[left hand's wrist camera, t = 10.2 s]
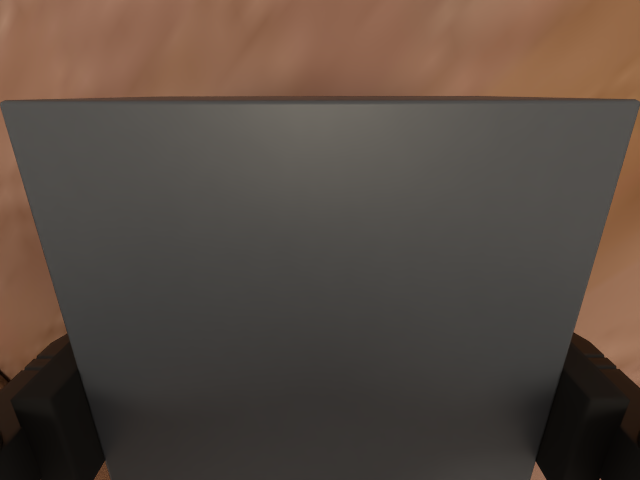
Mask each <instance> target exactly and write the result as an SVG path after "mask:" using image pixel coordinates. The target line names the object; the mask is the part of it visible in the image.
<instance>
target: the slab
mask: <svg viewBox="0 0 640 480" xmlns="http://www.w3.org/2000/svg"><path fill="white" fill-rule="evenodd" d="M639 106H640V102H639V101H637V100H635V99H592V98H543V97H495V96H275V97H126V98H84V99H42V100H5V101H3V102H1V103H0V107H1V110H2V113H3V117H4V120H5V124H6V127H7V130H8V134H9V137H10V140H11V144H12V147H13V151H14V154H15V157H16V161H17V164H18V168H19V171H20V174H21V178H22V181H23V184H24V188H25V191H26V195H27V198H28V201H29V205H30V208H31V211H32V215H33V218H34V222H35V225H36V228H37V232H38V235H39V238H40V242H41V245H42V249H43V252H44V255H45V259H46V262H47V266H48V269H49V272H50V276H51V279H52V282H53V286H54V289H55V293H56V296H57V299H58V303H59V306H60V309H61V313H62V316H63V320H64V323H65V326H66V330H67V333H68V336H69V340H70V343H71V347H72V350H73V353H74V357H75V360H76V364H77V367H78V370H79V374H80V377H81V380H82V384H83V387H84V391H85V394H86V397H87V401H88V404H89V407H90V411H91V414H92V418H93V421H94V424H95V428H96V431H97V434H98V438H99V441H100V445H101V448H102V451H103V455H104V458H105V462H106V465H107V468H108V472H109V475H110V478H111V480H530V478H531V475H532V472H533V468H534V465H535V461H536V458H537V454H538V451H539V448H540V444H541V441H542V437H543V434H544V431H545V427H546V424H547V420H548V417H549V414H550V410H551V407H552V403H553V400H554V396H555V393H556V390H557V386H558V383H559V379H560V376H561V373H562V369H563V366H564V362H565V359H566V356H567V352H568V349H569V345H570V342H571V338H572V335H573V332H574V328H575V325H576V321H577V318H578V315H579V311H580V308H581V304H582V301H583V297H584V294H585V291H586V287H587V284H588V280H589V277H590V274H591V270H592V267H593V263H594V260H595V257H596V253H597V250H598V246H599V243H600V239H601V236H602V233H603V229H604V226H605V222H606V219H607V216H608V212H609V209H610V205H611V202H612V199H613V195H614V192H615V188H616V185H617V181H618V178H619V175H620V171H621V168H622V164H623V161H624V158H625V154H626V151H627V147H628V144H629V141H630V137H631V134H632V130H633V127H634V123H635V120H636V117H637V113H638V110H639Z"/></svg>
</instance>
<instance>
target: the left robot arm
mask: <svg viewBox="0 0 640 480" xmlns="http://www.w3.org/2000/svg"><path fill="white" fill-rule="evenodd" d="M104 461H105V458H104V455H103V451H102V448H101V445H100V441H99V438H98V434H97V431H96V428H95V424H94V421H93V418H92V414H91V411H90V407H89V404H88V401H87V397H86V394H85V391H84V387H83V384H82V380H81V377H80V374H79V370H78V367H77V364H76V360H75V357H74V353H73V350H72V347H71V343H70V340H69V336H68V333H67V334H66V335H64V336H62V337H61V338H59V339H57V340H55V341H54V342H52V343H51V344H50V345H48V346H47V347H46V348H45V349H44V350H43V351H42V352H41V353H40V354H39V355H38V356H37V359H33V360H32V361H31V362H30V363H29V364H28V365H27V366H26V367H25V370H24V371H21V372H19V373H18V374H17V375H16V376H15V377H14V378H13V379H12V380H11V381H10V382H9V383H8V382H7V381H6V380H5V379H4V378H3V377H2V376H1V375H0V480H40V479H41V480H94V478H95V477H96V475H97V473H98V471H99V470H100V468H101V466H102V465H103V463H104ZM536 462H537V464H538V466H539V467H540V469H541V471H542V473H543V474H544V476H545V478H546V479H547V480H599V479H600V478H601V480H640V388H639V387H638V386H637V385H636V384H635V383H634V382H633V381H632V380H631V379H629V378H628V377H627V376H626V375H625V374H624V373H623V372H622V371H621V370H620V369H616V366H615V365H614V364H613V363H612V362H611V361H610V360H609V359H608V358H605V357H604V355H603V354H602V353H601V352H600V351H599V350H598V349H597V348H596V347H595V346H594V345H593V344H592V343H590V342H589V341H587V340H586V339H584V338H582V337H581V336H579V335H577V334H575V333H574V332H573V335H572V338H571V342H570V345H569V349H568V352H567V356H566V359H565V362H564V366H563V369H562V373H561V376H560V379H559V383H558V386H557V390H556V393H555V396H554V400H553V403H552V407H551V410H550V414H549V417H548V420H547V424H546V427H545V431H544V434H543V437H542V441H541V444H540V448H539V451H538V454H537V458H536Z"/></svg>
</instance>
